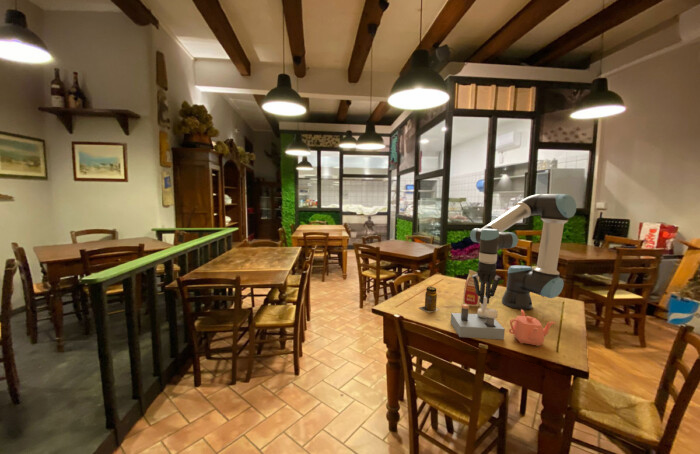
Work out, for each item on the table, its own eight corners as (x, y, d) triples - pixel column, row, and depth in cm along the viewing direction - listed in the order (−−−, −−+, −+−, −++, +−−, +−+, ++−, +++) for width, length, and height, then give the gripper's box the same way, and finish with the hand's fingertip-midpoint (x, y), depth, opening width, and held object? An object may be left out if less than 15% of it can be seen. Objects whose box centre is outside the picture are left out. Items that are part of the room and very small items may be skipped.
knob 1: (485, 323, 133) (486, 308, 132) (489, 328, 128) (491, 313, 127) (474, 322, 134) (476, 308, 133) (478, 327, 129) (480, 312, 128)
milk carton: (463, 304, 158) (465, 271, 155) (463, 299, 166) (465, 267, 164) (480, 307, 154) (483, 273, 152) (479, 301, 163) (482, 269, 160)
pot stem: (466, 318, 129) (467, 304, 128) (469, 321, 125) (470, 307, 124) (459, 317, 129) (460, 303, 128) (461, 321, 126) (462, 306, 125)
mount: (490, 324, 134) (490, 314, 133) (503, 339, 120) (504, 328, 119) (450, 322, 135) (451, 312, 134) (459, 337, 121) (460, 326, 121)
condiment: (439, 309, 150) (440, 288, 148) (429, 313, 145) (430, 291, 144) (428, 305, 156) (430, 285, 154) (418, 308, 151) (419, 287, 150)
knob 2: (493, 324, 125) (494, 308, 124) (498, 329, 120) (499, 313, 119) (481, 323, 125) (483, 308, 124) (486, 328, 120) (487, 312, 119)
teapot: (519, 329, 129) (521, 307, 128) (553, 344, 117) (556, 320, 115) (500, 336, 122) (503, 313, 121) (534, 353, 110) (537, 327, 108)
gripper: (498, 260, 130) (494, 307, 133) (470, 259, 131) (466, 305, 134) (505, 264, 123) (501, 314, 126) (476, 263, 124) (472, 312, 127)
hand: (483, 309), depth 130 cm, fingers closed
